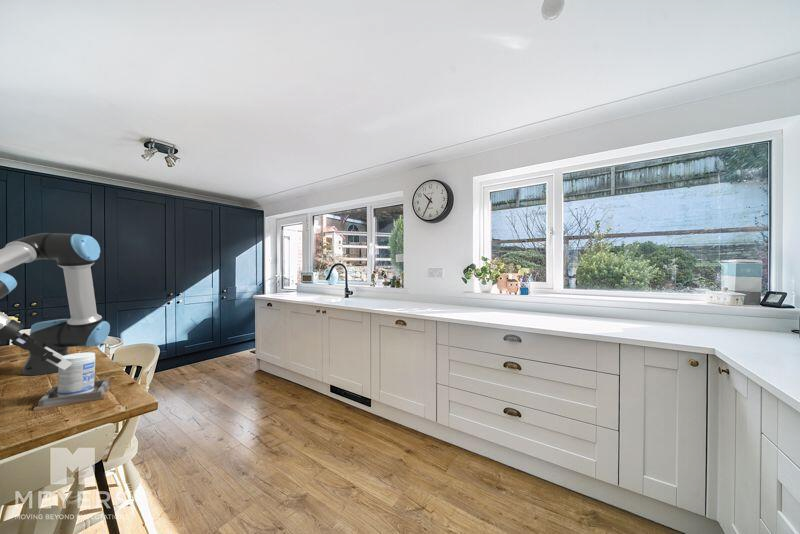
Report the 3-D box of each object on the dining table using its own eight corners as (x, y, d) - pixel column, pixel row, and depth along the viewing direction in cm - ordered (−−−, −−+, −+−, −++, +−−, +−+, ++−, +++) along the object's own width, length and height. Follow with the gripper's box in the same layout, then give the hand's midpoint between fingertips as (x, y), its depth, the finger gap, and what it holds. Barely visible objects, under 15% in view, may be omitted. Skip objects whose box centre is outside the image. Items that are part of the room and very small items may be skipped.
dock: (50, 393, 115) (51, 386, 115) (111, 384, 125) (111, 378, 125) (33, 410, 102) (33, 402, 102) (103, 399, 112) (103, 391, 112)
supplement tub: (89, 396, 112) (91, 356, 112) (52, 401, 107) (54, 360, 107) (97, 387, 120) (98, 350, 120) (62, 392, 115) (64, 353, 115)
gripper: (-19, 331, 103) (46, 365, 115) (-13, 343, 89) (60, 379, 101) (7, 314, 107) (67, 348, 119) (17, 323, 93) (83, 360, 106)
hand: (64, 362), depth 110 cm, fingers open, 13 cm apart
